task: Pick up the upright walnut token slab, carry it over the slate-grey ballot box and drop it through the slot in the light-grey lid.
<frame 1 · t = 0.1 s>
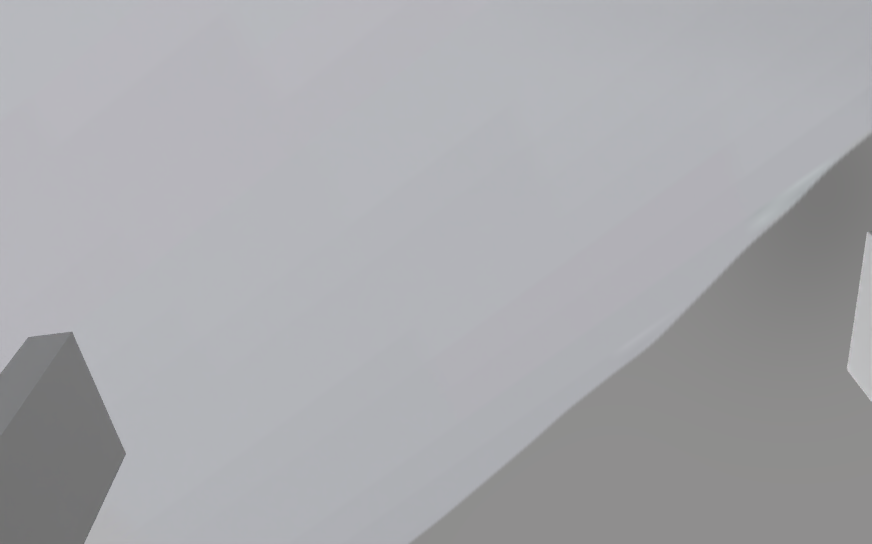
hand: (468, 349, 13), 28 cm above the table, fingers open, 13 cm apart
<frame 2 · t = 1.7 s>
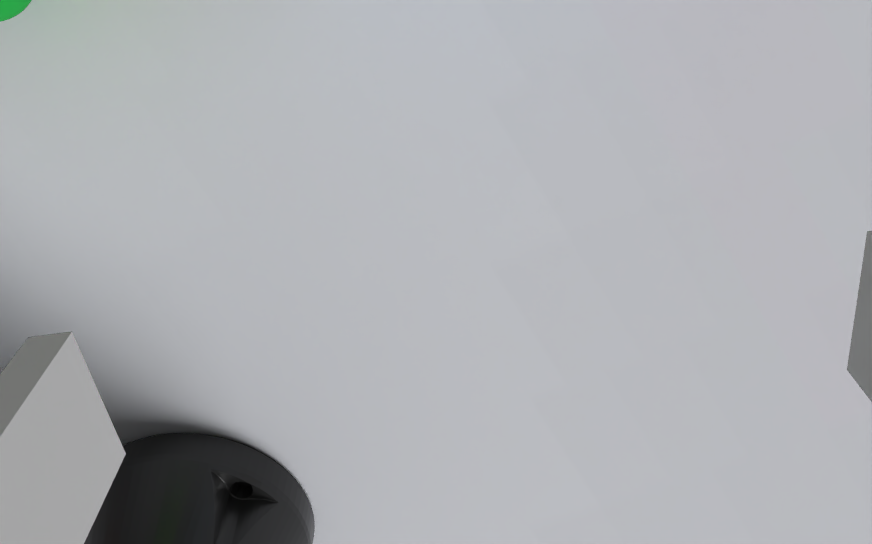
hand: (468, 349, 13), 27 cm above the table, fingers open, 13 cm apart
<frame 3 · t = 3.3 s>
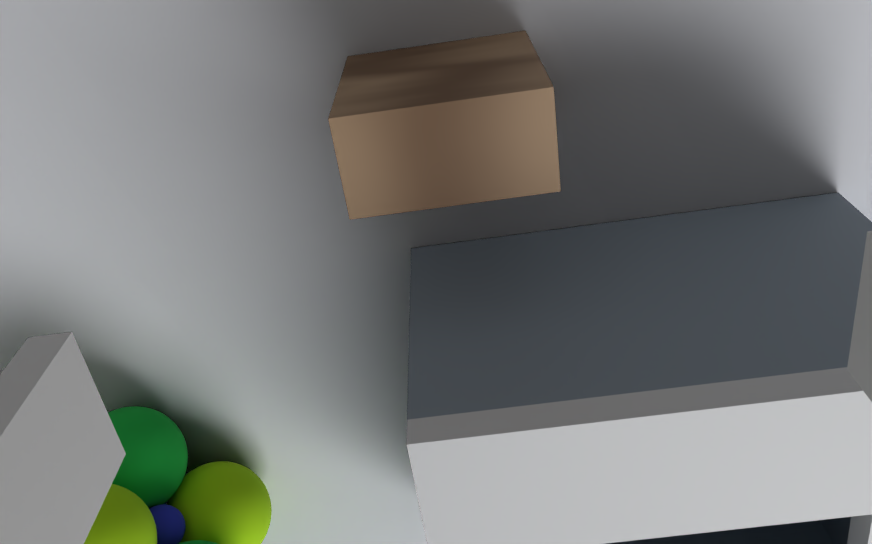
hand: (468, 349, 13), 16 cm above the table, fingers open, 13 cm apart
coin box: (625, 370, 33), on the table
token: (442, 87, 27), on the table
molecule model: (162, 475, 36), on the table
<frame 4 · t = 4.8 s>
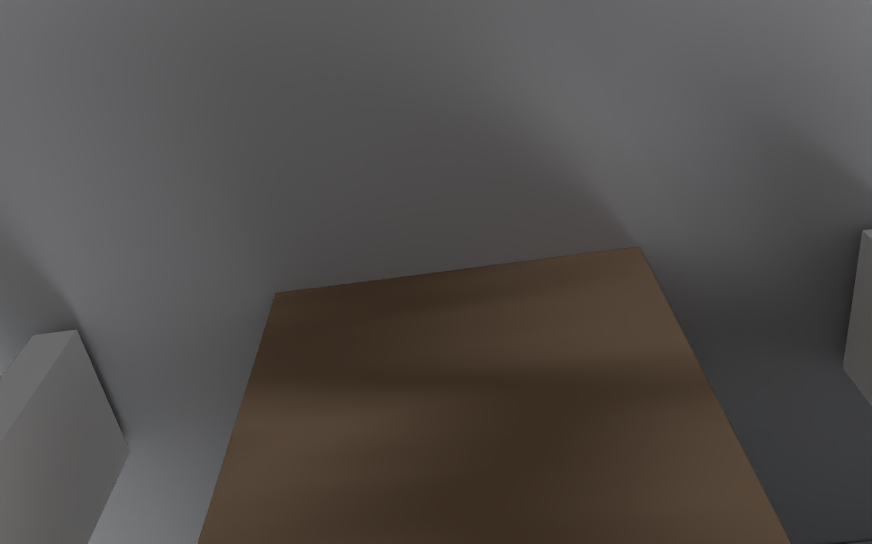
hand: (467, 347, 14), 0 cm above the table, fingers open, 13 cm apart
token: (466, 344, 14), on the table
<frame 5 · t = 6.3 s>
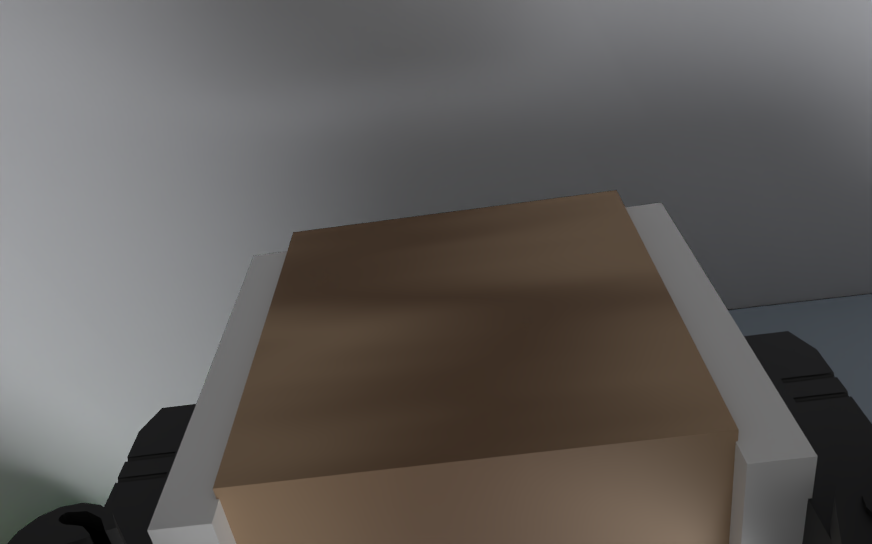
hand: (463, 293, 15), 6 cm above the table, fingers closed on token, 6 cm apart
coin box: (691, 487, 26), on the table
token: (462, 280, 15), point 6 cm above the table, touching gripper
when the fingers open (12 cm above the table, at t = 8.4 s): token drops 11 cm, resting on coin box.
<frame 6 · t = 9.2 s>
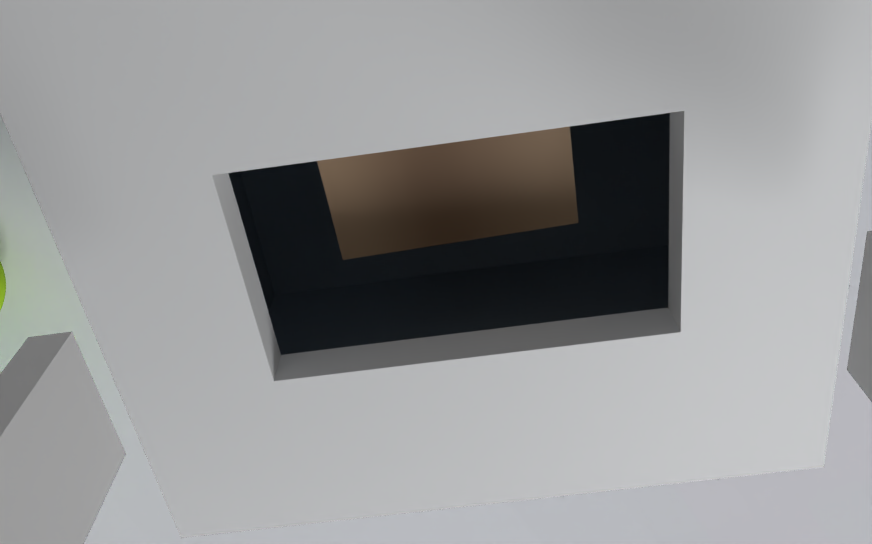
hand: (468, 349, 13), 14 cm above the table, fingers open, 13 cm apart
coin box: (446, 95, 26), on the table
token: (443, 103, 25), point 1 cm above the table, touching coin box
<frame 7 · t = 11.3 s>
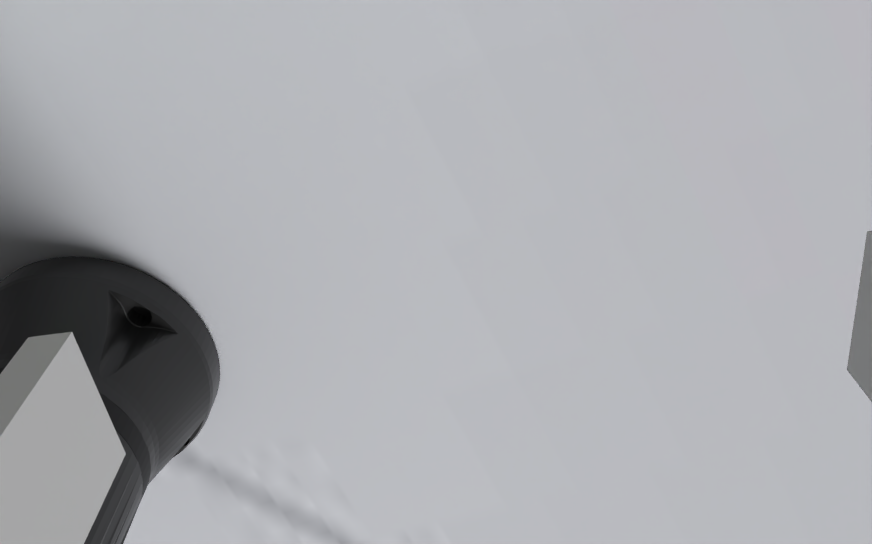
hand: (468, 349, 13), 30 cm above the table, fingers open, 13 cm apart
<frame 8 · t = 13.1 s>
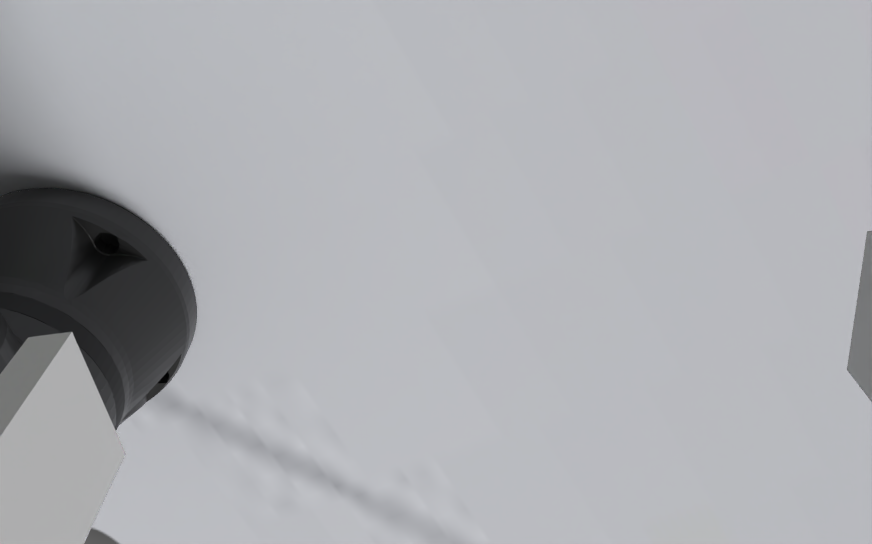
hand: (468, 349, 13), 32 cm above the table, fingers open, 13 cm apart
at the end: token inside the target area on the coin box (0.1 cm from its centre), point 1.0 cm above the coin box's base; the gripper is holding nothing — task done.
